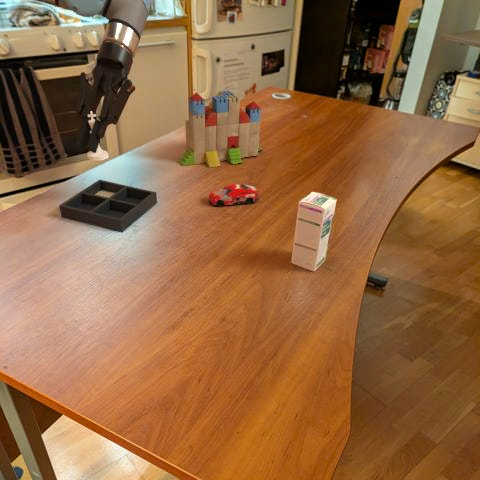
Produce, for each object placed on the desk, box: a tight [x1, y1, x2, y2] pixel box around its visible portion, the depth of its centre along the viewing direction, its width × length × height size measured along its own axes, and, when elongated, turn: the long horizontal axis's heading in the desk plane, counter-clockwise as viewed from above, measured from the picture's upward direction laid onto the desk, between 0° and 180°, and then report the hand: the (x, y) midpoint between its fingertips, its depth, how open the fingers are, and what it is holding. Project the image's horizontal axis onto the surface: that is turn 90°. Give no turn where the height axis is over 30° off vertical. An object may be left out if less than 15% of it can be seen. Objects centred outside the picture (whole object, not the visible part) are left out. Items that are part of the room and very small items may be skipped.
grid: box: [58, 179, 158, 233], centre depth 111 cm, size 16×16×3 cm
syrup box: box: [290, 191, 337, 273], centre depth 94 cm, size 6×6×14 cm
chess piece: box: [86, 111, 110, 161], centre depth 104 cm, size 5×5×10 cm
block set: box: [178, 90, 264, 168], centre depth 136 cm, size 28×14×19 cm, turn 115°
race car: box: [207, 183, 260, 208], centre depth 118 cm, size 13×5×4 cm, turn 106°
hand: (85, 148), depth 103 cm, fingers closed on chess piece, 2 cm apart
